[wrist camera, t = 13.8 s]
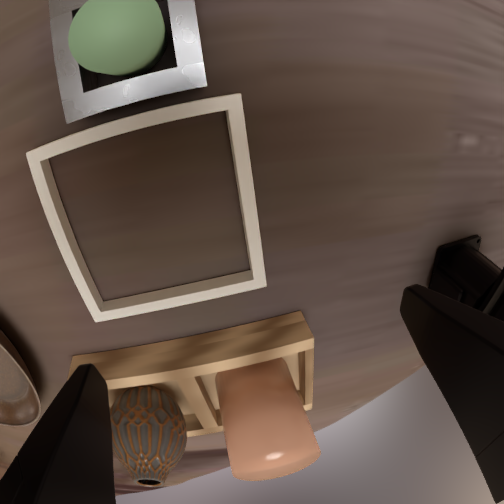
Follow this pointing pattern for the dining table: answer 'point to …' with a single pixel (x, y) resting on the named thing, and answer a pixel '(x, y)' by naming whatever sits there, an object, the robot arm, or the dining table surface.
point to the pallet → (208, 365)
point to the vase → (147, 434)
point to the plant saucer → (16, 388)
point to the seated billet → (264, 421)
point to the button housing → (134, 89)
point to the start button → (118, 36)
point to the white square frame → (174, 294)
